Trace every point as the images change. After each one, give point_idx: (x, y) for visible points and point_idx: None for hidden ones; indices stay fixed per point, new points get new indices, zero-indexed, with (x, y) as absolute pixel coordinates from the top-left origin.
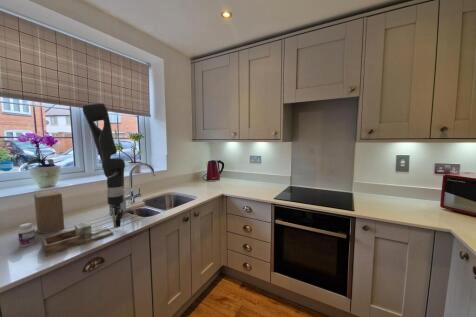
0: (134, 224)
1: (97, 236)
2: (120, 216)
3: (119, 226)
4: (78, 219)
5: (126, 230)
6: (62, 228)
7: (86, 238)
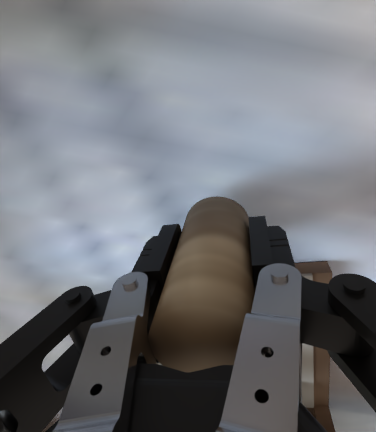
0: (197, 10)
1: (308, 358)
2: (302, 300)
3: (246, 213)
4: None
5: (325, 145)
6: None
7: None
